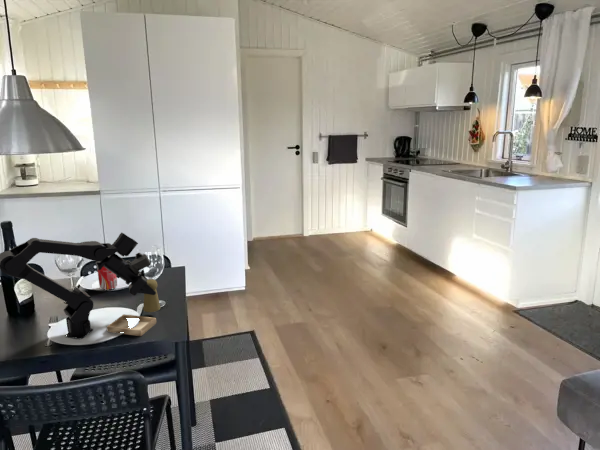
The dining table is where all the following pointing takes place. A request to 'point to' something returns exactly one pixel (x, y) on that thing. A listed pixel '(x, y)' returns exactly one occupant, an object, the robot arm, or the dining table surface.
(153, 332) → the dining table surface
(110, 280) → the soda can
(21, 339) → the dining table surface
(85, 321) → the robot arm
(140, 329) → the tray
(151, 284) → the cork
